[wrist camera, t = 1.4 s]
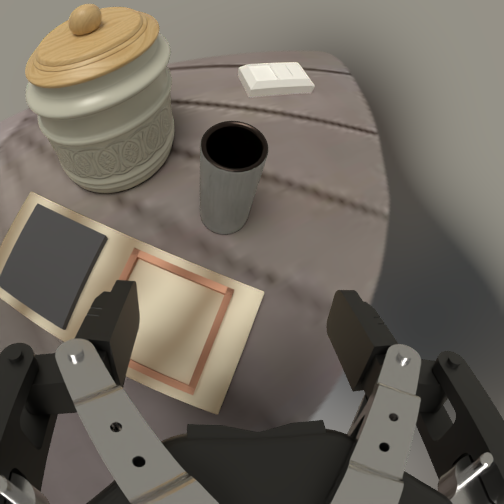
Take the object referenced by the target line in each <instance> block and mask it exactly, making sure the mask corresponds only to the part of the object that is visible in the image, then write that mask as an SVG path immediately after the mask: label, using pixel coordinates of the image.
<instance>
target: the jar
mask: <svg viewBox="0 0 504 504" xmlns="http://www.w3.org/2000/svg"><path fill="white" fill-rule="evenodd" d="M170 53H171V49H170V45H169V43H168V41H167V39H166V38H165V37H164V36H163V35H161V34H160V33H159V24H158V22H157V21H156V19H155V18H153V17H152V16H150V15H148V14H146V13H143V12H139V11H135V10H133V9H130V8H125V7H109V8H102V9H99V8H98V7H97V6H95V5H94V4H84V5H81V6H79V7H77V8H76V9H75V10H74V11H73V12H72V13H71V15H70V17H69V20H68V21H66V22H64V23H62V24H61V25H59V26H58V27H56V28H55V29H54V30H52V31H51V32H50V33H49V34H48V35H47V36H46V37H45V38H44V39H43V40H42V41H41V43H40V45H39V46H38V47H37V48H36V50H35V51H34V52H33V53H32V55H31V56H30V58H29V60H28V62H27V65H26V69H25V73H26V78H27V79H28V81H29V82H28V84H27V87H26V102H27V104H28V107H29V108H30V109H31V110H32V111H33V112H34V113H36V114H37V115H38V124H39V127H40V130H41V131H42V133H43V134H44V135H45V136H46V137H47V138H48V140H49V142H50V143H51V145H52V147H53V149H54V151H55V152H56V154H57V156H58V158H59V161H60V164H61V166H62V168H63V169H64V171H65V173H66V174H67V175H68V177H69V178H70V179H71V180H73V181H74V182H75V183H76V184H78V185H79V186H80V187H82V188H84V189H86V190H89V191H92V192H97V193H113V192H119V191H123V190H126V189H129V188H132V187H134V186H136V185H138V184H140V183H142V182H144V181H145V180H147V179H148V178H150V177H151V176H152V175H153V174H154V173H155V172H157V171H158V169H159V168H160V167H161V166H162V165H163V164H164V162H165V161H166V159H167V157H168V155H169V153H170V151H171V147H172V142H173V139H174V119H173V115H172V112H171V97H170V90H171V85H172V77H171V73H170V70H169V69H168V67H167V64H168V61H169V59H170Z"/></svg>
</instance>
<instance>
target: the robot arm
mask: <svg viewBox="0 0 504 504" xmlns="http://www.w3.org/2000/svg"><path fill="white" fill-rule="evenodd" d="M139 323H140V312H139V303H138V293H137V284H136V282H135V281H127V280H116V282H115V284H114V286H113V288H112V290H111V292H107V291H104V292H102V293H101V294H100V295H99V296H97V297H96V298H95V299H94V301H93V303H92V305H91V308H90V309H89V311H88V313H87V315H86V316H85V318H84V320H83V322H82V324H81V326H80V328H79V330H78V332H77V334H76V336H75V338H74V339H71V340H68V341H66V342H64V343H62V344H61V345H60V346H59V347H58V348H57V350H56V353H53V354H42V355H35V354H34V352H33V350H32V348H31V347H30V346H29V345H27V344H24V343H16V344H12V345H10V346H8V347H6V348H5V349H4V350H3V351H2V352H1V354H0V504H50V503H49V501H48V499H47V498H46V497H45V496H44V494H42V493H41V486H42V480H43V475H44V470H45V465H46V460H47V456H48V451H49V447H50V443H51V438H52V434H53V430H54V427H55V423H56V419H57V415H58V414H63V413H75V412H78V414H79V416H80V419H81V421H82V423H83V425H84V427H85V429H86V431H87V432H88V434H89V436H90V438H91V440H92V442H93V444H94V446H95V447H96V449H97V451H98V453H99V455H100V456H101V458H102V460H103V461H104V463H105V465H106V466H107V468H108V470H109V471H110V473H111V475H112V476H113V478H114V479H115V480H114V481H113V482H112V483H111V484H110V485H109V486H107V487H106V488H105V489H104V490H103V491H101V492H100V493H99V494H98V495H97V496H95V497H94V498H93V499H92V500H90V501H89V502H88V503H87V504H504V420H503V419H502V417H501V415H500V414H499V412H498V410H497V409H496V407H495V405H494V404H493V402H492V401H491V399H490V397H489V396H488V394H487V393H486V391H485V390H484V388H483V387H482V385H481V384H480V382H479V381H478V379H477V378H476V376H475V375H474V373H473V372H472V370H471V369H470V367H469V366H468V365H467V363H466V362H465V360H464V359H463V358H462V357H461V356H460V355H458V354H456V353H454V352H451V351H444V352H441V353H440V354H439V356H438V358H437V359H436V361H430V360H423V359H421V358H420V356H419V354H418V353H417V352H416V351H415V350H414V349H412V348H410V347H408V346H406V345H402V344H398V343H397V341H396V340H395V338H394V337H393V335H392V334H391V332H390V331H389V329H388V328H387V326H386V325H384V322H383V320H382V319H381V318H380V316H379V315H378V313H377V312H376V310H375V309H374V308H373V307H372V306H370V305H369V304H368V303H366V302H363V301H362V299H361V298H360V296H359V295H358V293H357V292H356V291H355V290H338V291H336V293H335V296H334V299H333V302H332V306H331V309H330V313H329V316H328V320H327V333H328V336H329V338H330V340H331V343H332V345H333V347H334V349H335V352H336V354H337V356H338V358H339V361H340V363H341V365H342V368H343V370H344V372H345V374H346V377H347V379H348V381H349V383H350V386H351V388H352V390H353V391H360V390H364V391H365V395H364V397H363V399H362V401H361V404H360V406H359V408H358V411H357V413H356V416H355V418H354V420H353V422H352V425H351V427H350V429H349V431H348V434H344V433H342V432H338V431H335V430H329V429H325V426H324V422H323V420H319V421H309V422H298V423H290V424H287V425H284V426H280V427H277V428H273V429H270V430H266V431H262V432H253V431H248V430H242V429H237V428H232V427H228V426H223V425H194V424H188V426H187V433H186V434H181V435H177V436H173V437H171V438H168V439H165V440H163V441H160V440H159V439H158V438H157V436H156V435H155V434H154V432H153V431H152V430H151V428H150V427H149V426H148V424H147V423H146V421H145V420H144V419H143V417H142V416H141V414H140V413H139V412H138V410H137V409H136V407H135V406H134V404H133V403H132V401H131V400H130V398H129V397H128V395H127V394H126V392H125V391H124V389H123V385H124V381H125V377H126V373H127V369H128V365H129V362H130V358H131V354H132V350H133V347H134V343H135V340H136V336H137V333H138V329H139ZM447 399H449V400H450V402H451V404H452V406H453V408H454V410H455V412H456V420H455V422H454V424H453V423H452V421H451V419H450V417H449V415H448V414H447V411H446V410H445V408H444V406H443V404H444V403H445V402H446V400H447ZM415 426H417V428H418V431H419V433H420V435H421V437H422V440H423V442H424V444H425V447H426V449H427V451H428V454H429V456H430V459H431V461H432V463H433V466H434V468H435V471H436V473H437V476H438V478H439V482H438V491H437V490H435V489H433V488H431V487H430V486H428V485H426V484H425V483H423V482H421V481H420V480H418V479H416V478H415V477H413V476H411V475H410V474H408V473H407V472H405V471H404V470H405V466H406V463H407V459H408V455H409V451H410V448H411V444H412V439H413V435H414V431H415Z"/></svg>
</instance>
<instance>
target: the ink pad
mask: <svg viewBox="0 0 504 504" xmlns="http://www.w3.org/2000/svg"><path fill="white" fill-rule="evenodd" d="M107 240H108V238H107V237H106V235H104V234H102V233H99V232H97V231H95V230H93V229H91V228H89V227H86V226H84V225H82V224H80V223H78V222H76V221H74V220H72V219H69V218H67V217H65V216H63V215H61V214H59V213H57V212H55V211H53V210H51V209H49V208H47V207H44V206H42V205H40V204H38V203H37V205H36V206H35V208H34V210H33V212H32V213H31V215H30V217H29V219H28V220H27V222H26V224H25V226H24V228H23V229H22V231H21V233H20V235H19V237H18V239H17V241H16V243H15V245H14V247H13V249H12V251H11V253H10V255H9V257H8V259H7V261H6V263H5V266H4V268H3V270H2V272H1V275H0V287H1V288H2V289H4V290H5V291H6V292H8V293H9V294H10V295H12V296H13V297H14V298H16V299H17V300H19V301H20V302H21V303H23V304H24V305H26V306H27V307H29V308H30V309H31V310H33V311H34V312H36V313H37V314H39V315H40V316H42V317H43V318H45V319H47V320H48V321H50V322H51V323H53V324H54V325H56V326H58V327H59V328H61V329H63V330H66V328H67V325H68V323H69V321H70V318H71V316H72V313H73V311H74V309H75V306H76V304H77V302H78V300H79V297H80V295H81V293H82V291H83V288H84V286H85V284H86V282H87V280H88V278H89V276H90V274H91V271H92V269H93V267H94V265H95V263H96V261H97V259H98V257H99V255H100V253H101V251H102V249H103V248H104V246H105V244H106V242H107Z"/></svg>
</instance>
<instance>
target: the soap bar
mask: <svg viewBox="0 0 504 504" xmlns="http://www.w3.org/2000/svg"><path fill="white" fill-rule="evenodd" d="M238 77H239V79H240V81H241V83H242V85H243V87H244V89H245V91H246V93H247V95H248V97H249V98H252V97H262V96H273V95H285V94H301V93H312V91H313V89H314V86H315V85H314V84H313V82H312V81H311V80H310V78H309V77H308V75H307V74H306V73H305V71H304V70H303V68H302V67H301V66H300V64H299V63H298V62H290V63H262V64H247V65H244V66H241V67H239V69H238Z"/></svg>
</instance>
